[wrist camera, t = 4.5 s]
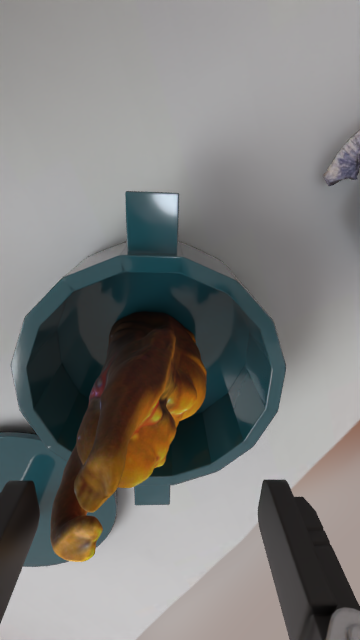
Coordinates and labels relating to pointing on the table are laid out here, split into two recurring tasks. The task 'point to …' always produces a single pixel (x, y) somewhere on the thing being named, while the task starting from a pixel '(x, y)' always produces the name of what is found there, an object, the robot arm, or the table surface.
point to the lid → (43, 490)
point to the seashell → (345, 162)
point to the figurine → (126, 423)
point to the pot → (152, 296)
